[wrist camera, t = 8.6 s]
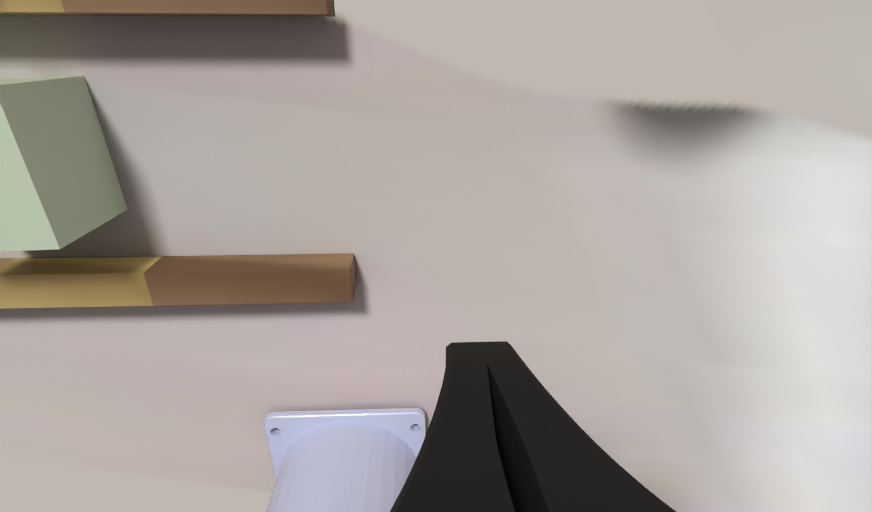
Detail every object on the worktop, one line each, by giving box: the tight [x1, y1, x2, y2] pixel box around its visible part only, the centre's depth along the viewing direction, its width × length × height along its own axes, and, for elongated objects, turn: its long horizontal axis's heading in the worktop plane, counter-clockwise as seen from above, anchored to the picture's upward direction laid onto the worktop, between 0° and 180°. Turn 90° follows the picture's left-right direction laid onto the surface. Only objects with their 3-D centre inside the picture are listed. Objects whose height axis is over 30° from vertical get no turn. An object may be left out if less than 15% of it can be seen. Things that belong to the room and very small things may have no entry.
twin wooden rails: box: [0, 0, 356, 309], centre depth 17 cm, size 12×24×2 cm, turn 90°
